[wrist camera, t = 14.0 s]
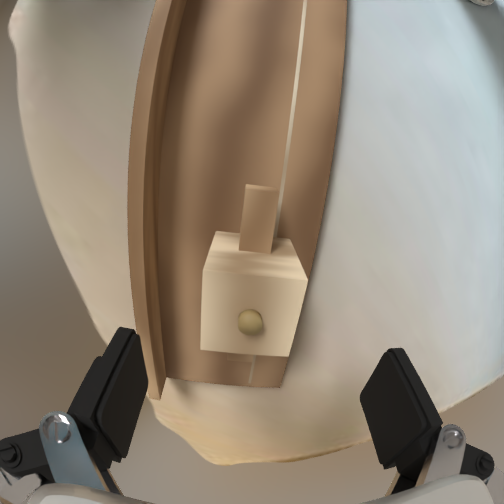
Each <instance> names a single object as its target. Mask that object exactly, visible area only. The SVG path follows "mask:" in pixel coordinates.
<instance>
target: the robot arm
mask: <svg viewBox="0 0 504 504" xmlns="http://www.w3.org/2000/svg"><path fill="white" fill-rule="evenodd" d="M470 1H472V2H474V3H476V4H478V5H481V6H487V5H490V4H492V3H493V2H494V0H470ZM148 383H149V381H148V376H147V371H146V366H145V361H144V356H143V351H142V345H141V339H140V335H139V334H136V332H135V330H134V329H129V328H124V327H119V328H118V329H117V331H116V333H115V335H114V336H113V338H112V340H111V342H110V343H109V345H108V347H107V349H106V350H105V353H104V354H103V356H102V357H101V356H98V357H97V358H96V359H95V360H94V362H93V364H92V365H91V367H90V369H89V371H88V373H87V374H86V377H85V378H84V380H83V382H82V384H81V386H80V388H79V390H78V392H77V393H76V396H75V397H74V399H73V401H72V403H71V406H70V407H69V410H68V412H67V414H66V413H64V412H60V411H54V412H50V413H48V414H46V415H45V416H44V417H43V418H42V420H41V422H40V425H39V429H36V430H33V431H29V432H26V433H22V434H19V435H15V436H12V437H8V438H4V439H2V440H1V441H0V504H22V503H23V502H24V500H25V499H27V498H28V497H29V496H28V494H30V493H31V492H32V491H34V490H35V492H34V493H33V494H32V496H31V497H30V499H29V501H28V503H27V504H153V503H149V502H145V501H141V500H137V499H133V498H129V497H126V496H124V495H123V493H122V492H121V490H120V488H119V486H118V485H117V483H116V481H115V479H114V478H113V476H112V474H111V472H110V470H109V468H110V466H111V463H112V461H116V462H119V463H120V462H121V459H122V458H126V456H127V454H128V450H129V447H130V443H131V440H132V437H133V433H134V430H135V427H136V423H137V420H138V417H139V414H140V410H141V407H142V404H143V401H144V398H145V395H146V392H147V389H148ZM360 402H361V405H362V408H363V411H364V414H365V417H366V420H367V423H368V426H369V430H370V433H371V436H372V439H373V443H374V446H375V449H376V452H377V456H378V459H379V462H380V464H383V467H384V469H388V468H392V467H395V466H396V467H397V472H396V475H395V477H394V479H393V481H392V483H391V485H390V487H389V489H388V491H387V493H386V495H385V497H383V498H379V499H376V500H372V501H368V502H363V503H360V504H504V473H503V472H502V471H501V470H500V469H498V468H497V467H495V468H494V461H493V458H492V457H491V455H490V454H488V453H487V452H484V451H482V450H480V449H478V448H475V447H473V446H471V445H469V444H467V443H466V436H465V433H464V432H463V430H462V429H461V428H460V427H458V426H456V425H453V424H449V425H446V426H444V427H443V428H442V427H441V425H442V424H443V422H442V420H441V418H440V416H439V414H438V412H437V410H436V408H435V406H434V404H433V402H432V400H431V398H430V396H429V394H428V392H427V390H426V388H425V386H424V385H423V383H422V381H421V379H420V377H419V375H418V374H417V372H416V370H415V368H414V366H413V365H412V363H411V361H410V359H409V358H408V356H407V354H406V352H405V351H404V349H403V348H390V349H388V350H387V352H385V353H384V354H383V356H382V357H381V359H380V361H379V363H378V365H377V366H376V368H375V370H374V372H373V374H372V375H371V377H370V379H369V380H368V382H367V384H366V385H365V387H364V389H363V390H362V392H361V394H360Z"/></svg>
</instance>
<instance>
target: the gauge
mask: <svg viewBox="0 0 504 504" xmlns="http://www.w3.org/2000/svg"><path fill="white" fill-rule="evenodd" d="M279 194H280V193H279V191H278V190H277V188H274V187H266V186H258V185H249V184H246V187H245V195H244V204H243V212H242V221H241V230H240V233H231V232H222V231H216V232H215V235H214V238H213V241H212V244H211V247H210V250H209V253H208V256H207V259H206V262H205V265H204V268H203V277H202V301H201V341H200V350H208V351H217V352H227V353H228V357H227V360H229V361H240V362H252V361H253V355H266V356H286V357H289V353H290V349H291V346H292V342H293V339H294V335H295V331H296V327H297V323H298V320H299V316H300V312H301V308H302V304H303V300H304V296H305V291H306V287H307V283H308V279H307V277H306V274H305V272H304V270H303V267H302V265H301V263H300V260H299V258H298V256H297V254H296V251H295V249H294V247H293V245H292V242H291V240H290V239H286V238H277V237H273V234H274V228H275V221H276V214H277V208H278V201H279Z"/></svg>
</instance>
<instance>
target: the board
mask: <svg viewBox="0 0 504 504" xmlns="http://www.w3.org/2000/svg"><path fill="white" fill-rule="evenodd" d="M346 16H347V0H156V3H155V6H154V9H153V13H152V16H151V20H150V24H149V28H148V32H147V36H146V40H145V45H144V49H143V54H142V59H141V64H140V69H139V75H138V81H137V87H136V94H135V101H134V109H133V117H132V126H131V137H130V150H129V167H128V247H129V265H130V278H131V289H132V299H133V307H134V316H135V323H136V330H137V334H139V335H140V339H141V345H142V351H143V356H144V361H145V366H146V371H147V376H148V381H149V383H148V394H149V398H151V399H156V400H160V399H161V395H162V391H163V388H164V384H165V380H166V377H169V378H175V379H182V380H189V381H197V382H205V383H214V384H224V385H236V386H251V387H276V388H280V385H281V382H282V379H283V375H284V372H285V368H286V365H287V362H288V358H289V357H286V356H266V355H253V361H252V362H240V361H229V360H227V357H228V353H227V352H217V351H208V350H200V341H201V301H202V277H203V268H204V265H205V262H206V259H207V256H208V253H209V250H210V247H211V244H212V241H213V238H214V235H215V232H216V231H222V232H231V233H240V230H241V221H242V212H243V204H244V195H245V187H246V184H249V185H258V186H266V187H274V188H277V190H278V191H279V193H280V194H279V201H278V208H277V214H276V221H275V228H274V234H273V237H277V238H286V239H290V240H291V242H292V245H293V247H294V249H295V251H296V254H297V256H298V258H299V260H300V263H301V265H302V267H303V270H304V272H305V274H306V277H307V279H308V281H309V277H310V272H311V268H312V264H313V259H314V254H315V250H316V245H317V240H318V235H319V230H320V225H321V220H322V215H323V210H324V205H325V199H326V193H327V188H328V182H329V176H330V170H331V164H332V157H333V150H334V144H335V136H336V129H337V121H338V113H339V105H340V96H341V86H342V76H343V65H344V52H345V37H346ZM307 285H308V283H307ZM306 290H307V287H306ZM305 294H306V291H305ZM304 298H305V296H304ZM303 302H304V300H303ZM302 306H303V304H302ZM301 310H302V308H301ZM300 314H301V312H300ZM299 318H300V316H299ZM298 322H299V320H298ZM297 325H298V323H297ZM296 329H297V327H296ZM295 333H296V331H295ZM294 337H295V335H294ZM293 340H294V339H293ZM292 344H293V342H292ZM291 348H292V346H291ZM290 351H291V349H290ZM289 355H290V353H289Z"/></svg>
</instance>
